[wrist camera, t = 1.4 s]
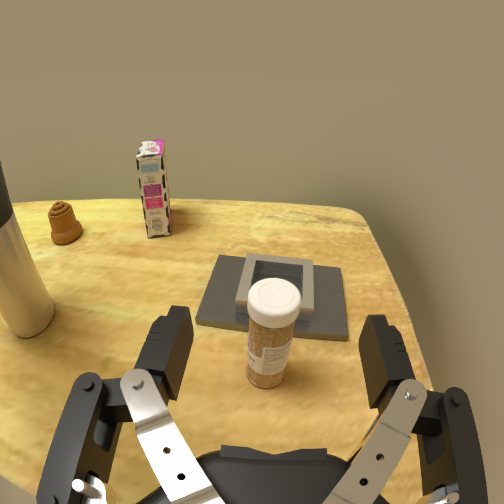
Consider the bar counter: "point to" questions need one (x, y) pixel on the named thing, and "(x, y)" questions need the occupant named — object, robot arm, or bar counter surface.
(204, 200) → the bar counter surface
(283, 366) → the sprinkles bottle
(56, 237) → the ornamental finial
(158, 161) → the candy bar box
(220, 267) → the collar socket
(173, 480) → the robot arm
